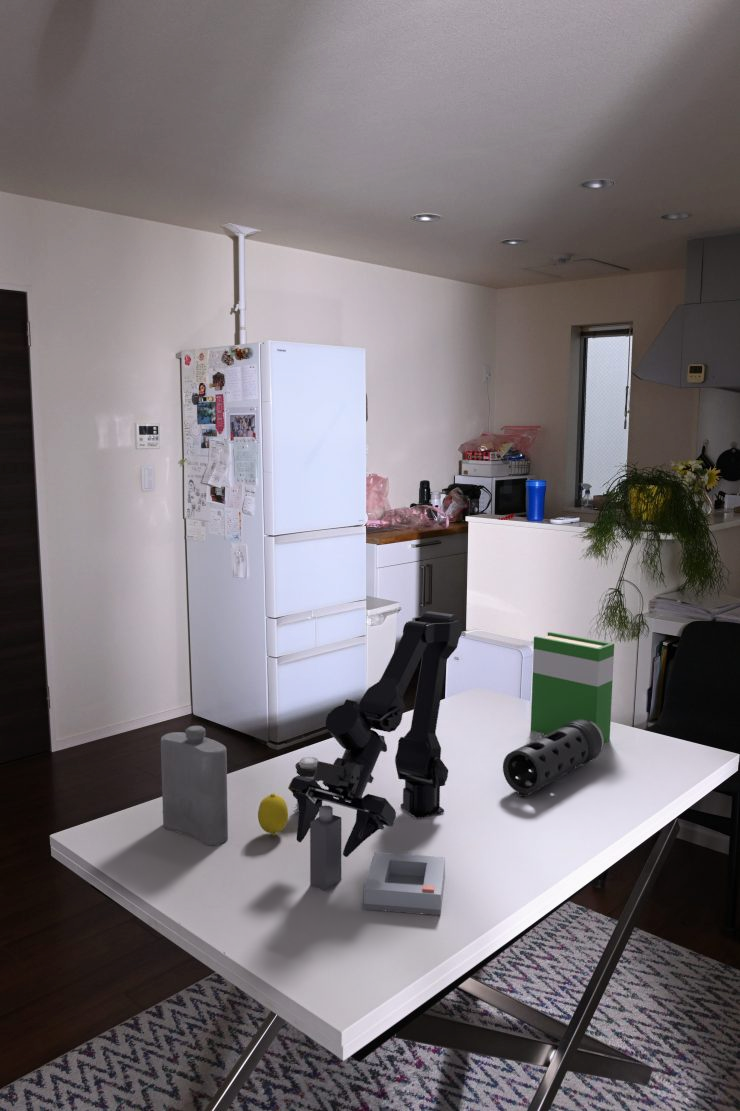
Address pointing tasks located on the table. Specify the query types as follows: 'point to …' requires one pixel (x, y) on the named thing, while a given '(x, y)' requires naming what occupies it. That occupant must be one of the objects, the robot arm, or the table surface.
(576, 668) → the hardback book
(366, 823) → the robot arm
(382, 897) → the socket box
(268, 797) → the lemon
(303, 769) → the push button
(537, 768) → the muzzle brake
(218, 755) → the flask
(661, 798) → the table surface
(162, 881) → the table surface
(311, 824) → the plug
